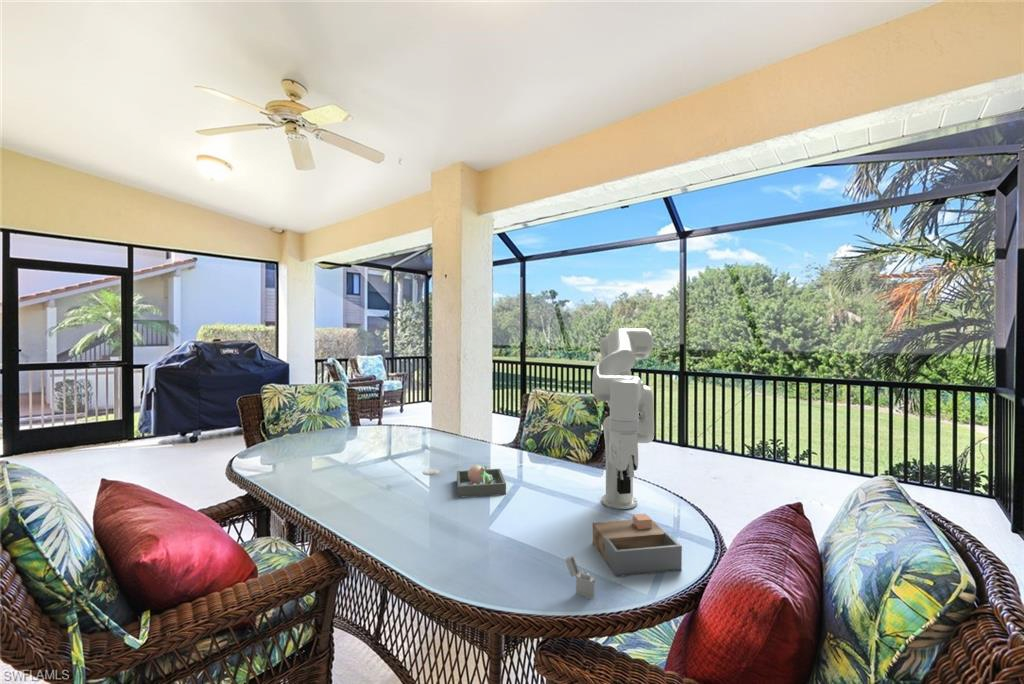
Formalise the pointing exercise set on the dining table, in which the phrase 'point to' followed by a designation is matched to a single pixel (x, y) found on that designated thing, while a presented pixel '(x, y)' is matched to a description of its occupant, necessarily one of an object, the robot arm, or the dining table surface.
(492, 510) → the dining table surface
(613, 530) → the bench plate
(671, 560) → the box
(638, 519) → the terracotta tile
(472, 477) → the orange and green lump
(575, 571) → the lighter
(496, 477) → the dark shallow tray
